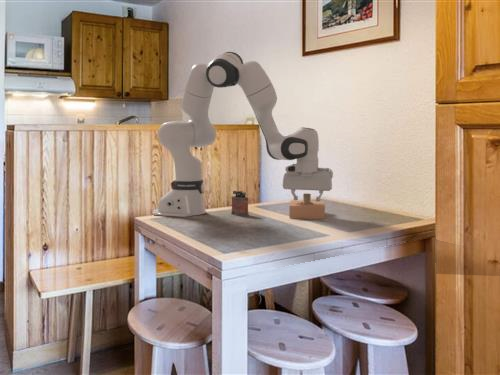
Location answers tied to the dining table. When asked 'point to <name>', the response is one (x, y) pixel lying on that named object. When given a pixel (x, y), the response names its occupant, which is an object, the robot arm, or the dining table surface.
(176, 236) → the dining table surface
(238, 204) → the lighter
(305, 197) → the key peg
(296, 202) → the block
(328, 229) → the dining table surface
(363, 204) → the dining table surface
